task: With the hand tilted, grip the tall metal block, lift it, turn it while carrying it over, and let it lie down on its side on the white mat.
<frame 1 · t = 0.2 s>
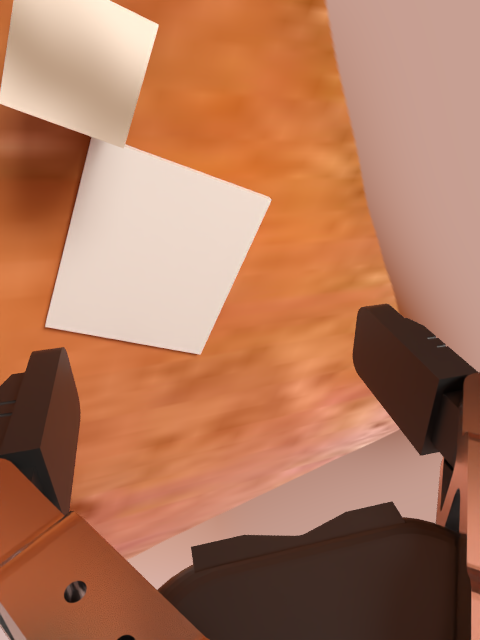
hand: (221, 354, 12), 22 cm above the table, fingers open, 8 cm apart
white mat: (155, 260, 34), on the table
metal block: (84, 44, 26), on the table
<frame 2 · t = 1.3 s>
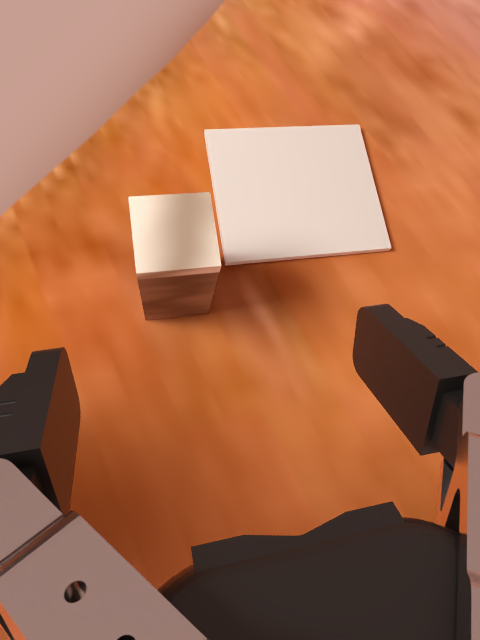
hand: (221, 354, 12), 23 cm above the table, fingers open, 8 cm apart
white mat: (295, 192, 41), on the table
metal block: (173, 287, 36), on the table
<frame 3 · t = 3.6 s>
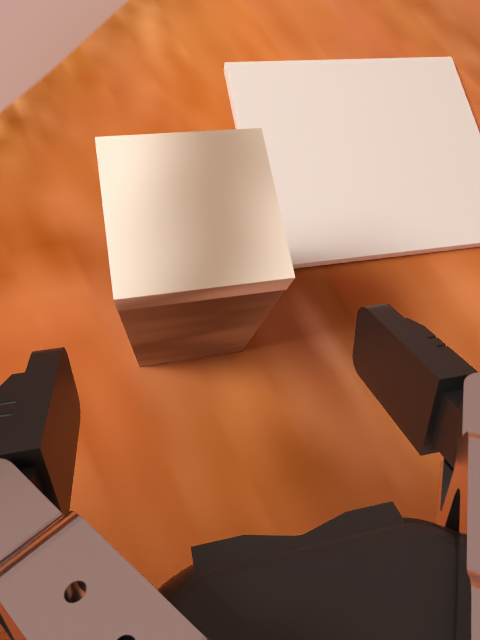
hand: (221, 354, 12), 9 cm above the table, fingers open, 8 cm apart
white mat: (366, 156, 26), on the table
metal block: (184, 310, 22), on the table
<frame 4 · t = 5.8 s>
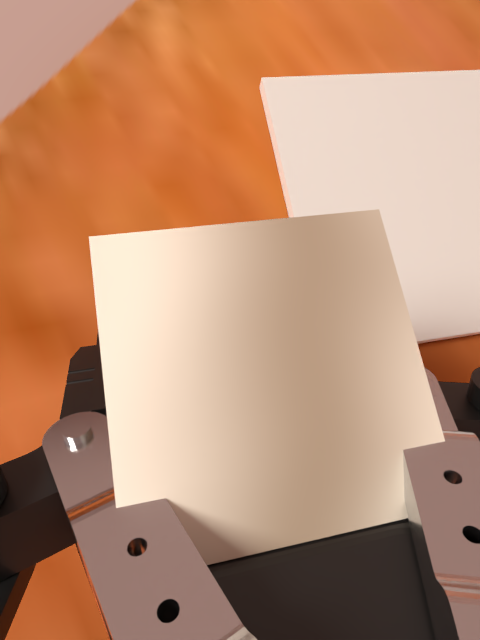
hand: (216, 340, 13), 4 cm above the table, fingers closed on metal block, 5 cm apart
white mat: (443, 197, 21), on the table
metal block: (215, 415, 16), on the table, touching gripper
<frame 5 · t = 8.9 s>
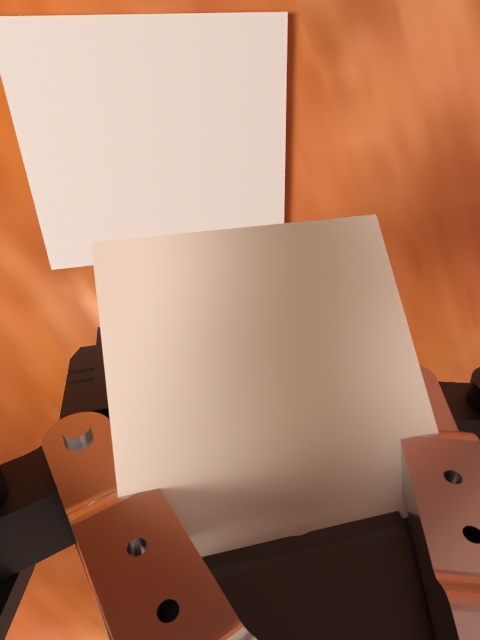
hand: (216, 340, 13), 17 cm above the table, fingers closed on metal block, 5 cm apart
white mat: (160, 148, 26), on the table
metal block: (214, 416, 17), point 16 cm above the table, tilted 45°, touching gripper
when the fingers open (5 cm above the table, at t = 11.9 s): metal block moves 2 cm and tips over, resting on white mat.
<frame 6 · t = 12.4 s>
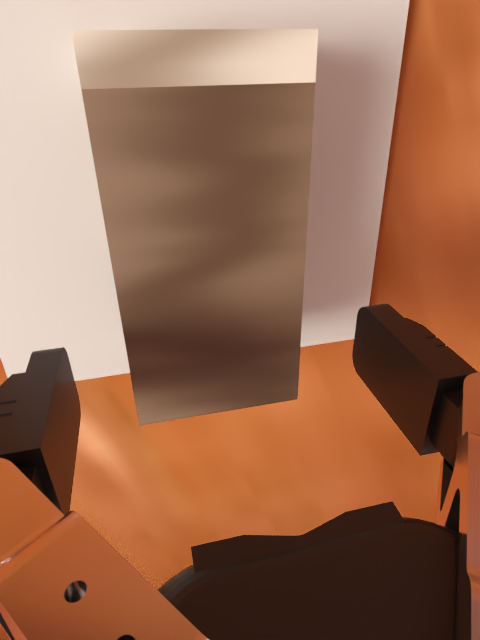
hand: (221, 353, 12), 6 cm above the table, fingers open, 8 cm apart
white mat: (186, 205, 16), on the table
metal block: (207, 366, 16), point 3 cm above the table, tilted 90°, touching white mat
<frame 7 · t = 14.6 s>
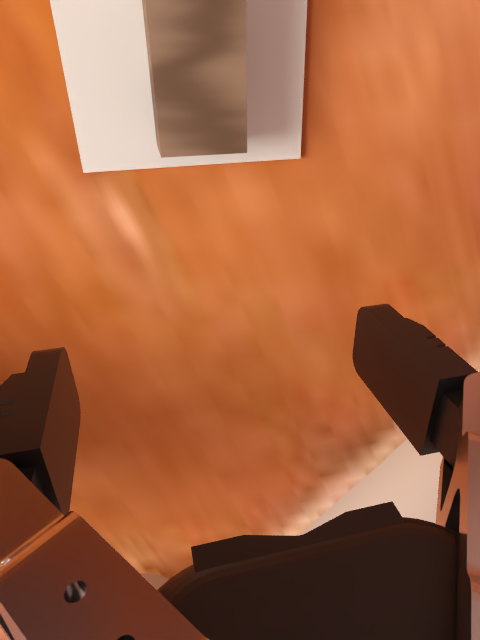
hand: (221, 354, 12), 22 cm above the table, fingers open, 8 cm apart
white mat: (187, 55, 28), on the table
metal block: (199, 148, 28), point 3 cm above the table, tilted 90°, touching white mat
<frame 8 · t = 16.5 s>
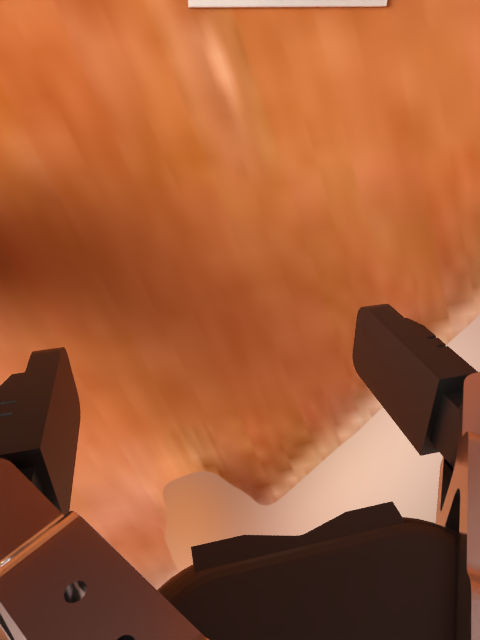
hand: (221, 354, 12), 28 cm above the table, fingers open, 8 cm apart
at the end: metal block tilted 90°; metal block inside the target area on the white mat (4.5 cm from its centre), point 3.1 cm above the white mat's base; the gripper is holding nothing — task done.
